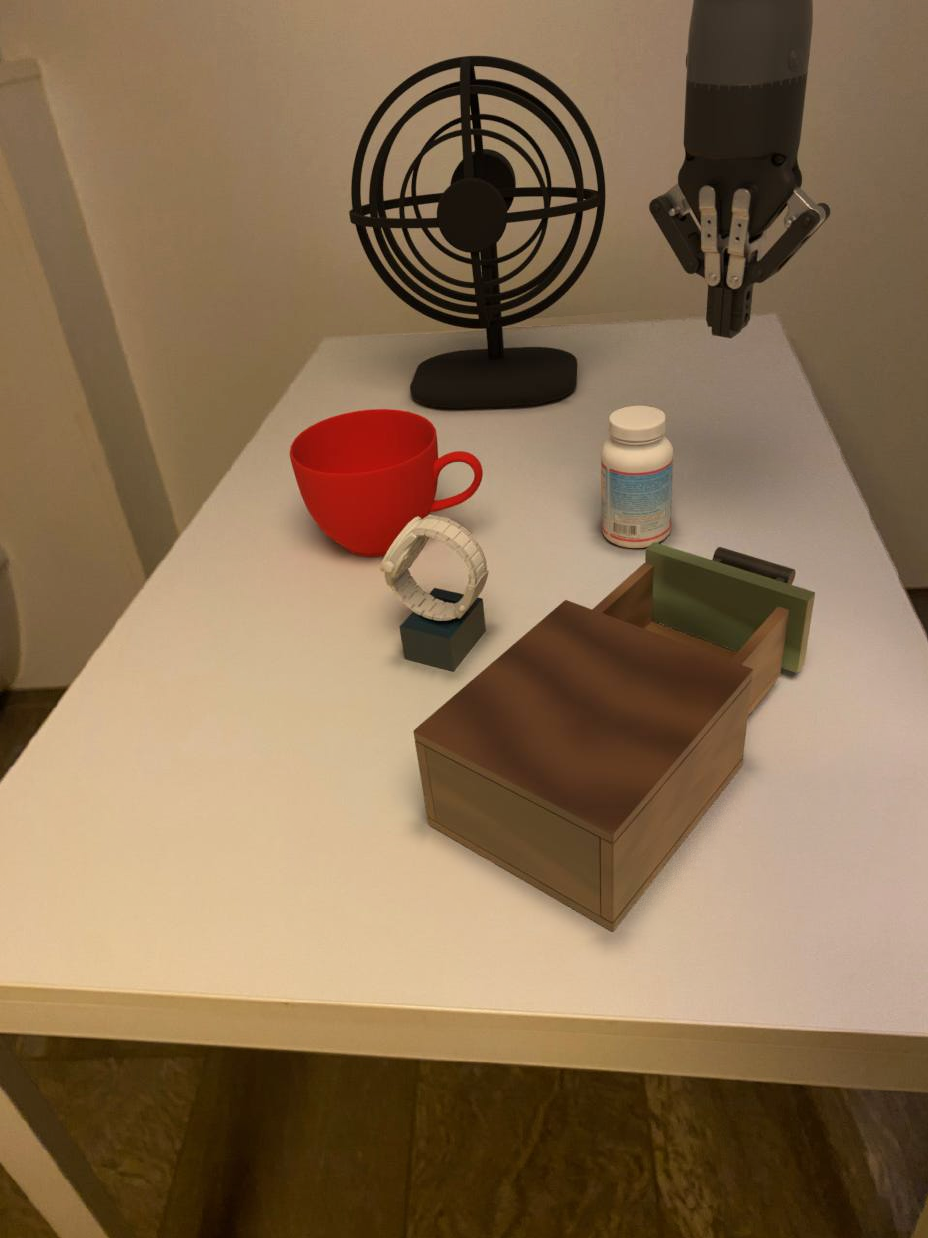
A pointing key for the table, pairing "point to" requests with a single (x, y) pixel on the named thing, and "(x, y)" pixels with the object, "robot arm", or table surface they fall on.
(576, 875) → the cabinet
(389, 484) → the ceramic cup
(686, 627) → the drawer
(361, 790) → the table surface
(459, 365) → the desk fan
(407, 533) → the watch
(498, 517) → the table surface
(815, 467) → the table surface
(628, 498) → the pill bottle
